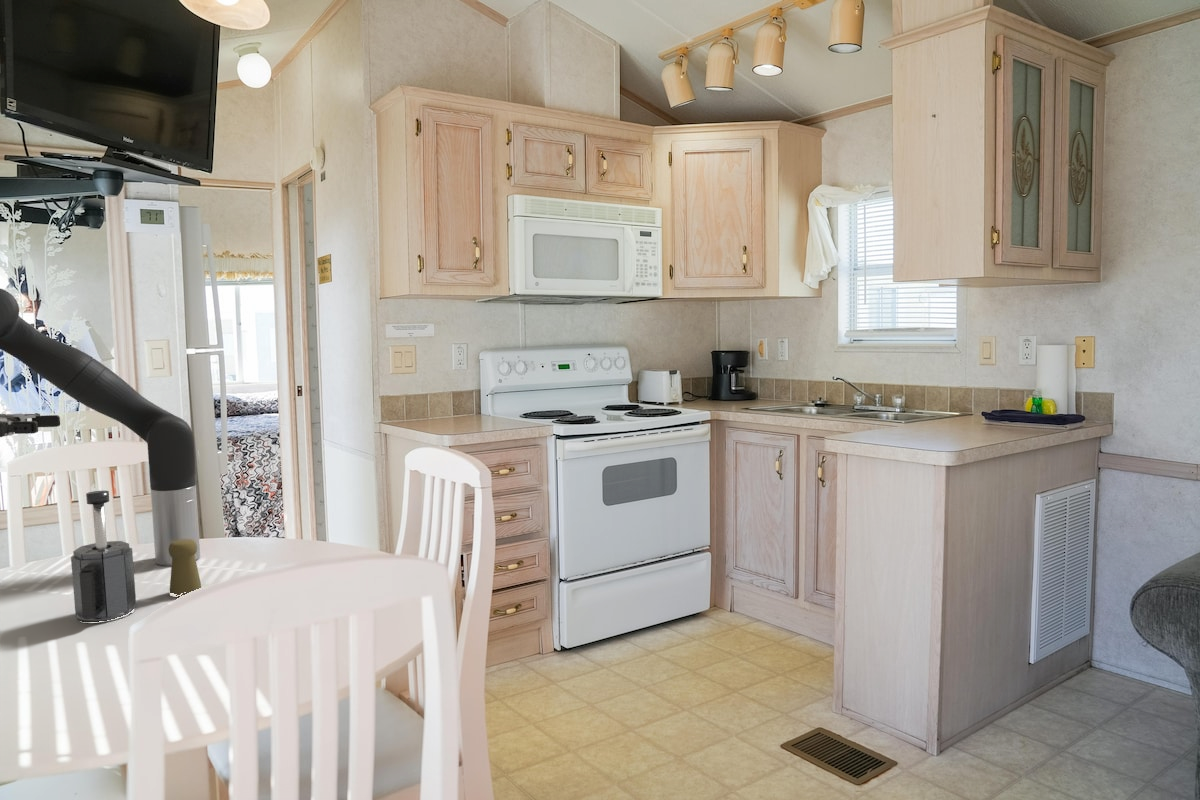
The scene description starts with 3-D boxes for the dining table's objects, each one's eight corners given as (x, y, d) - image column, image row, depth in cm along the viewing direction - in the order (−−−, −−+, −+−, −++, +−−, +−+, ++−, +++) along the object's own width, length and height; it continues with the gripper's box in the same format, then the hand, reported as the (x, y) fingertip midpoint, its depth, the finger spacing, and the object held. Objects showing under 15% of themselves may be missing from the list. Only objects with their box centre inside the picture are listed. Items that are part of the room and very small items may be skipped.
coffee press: (90, 607, 159) (85, 541, 158) (142, 603, 161) (138, 539, 160) (60, 631, 147) (55, 560, 146) (117, 627, 149) (112, 557, 148)
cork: (188, 598, 164) (185, 545, 162) (162, 596, 165) (158, 543, 164) (208, 588, 170) (205, 536, 168) (183, 586, 171) (179, 535, 170)
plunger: (94, 596, 158) (86, 489, 156) (130, 594, 159) (122, 488, 157) (79, 608, 152) (70, 497, 149) (117, 606, 153) (108, 495, 150)
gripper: (-73, 411, 146) (27, 408, 148) (-27, 402, 160) (64, 400, 162) (-69, 452, 147) (31, 449, 149) (-23, 440, 160) (67, 437, 163)
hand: (48, 423), depth 156 cm, fingers open, 8 cm apart
